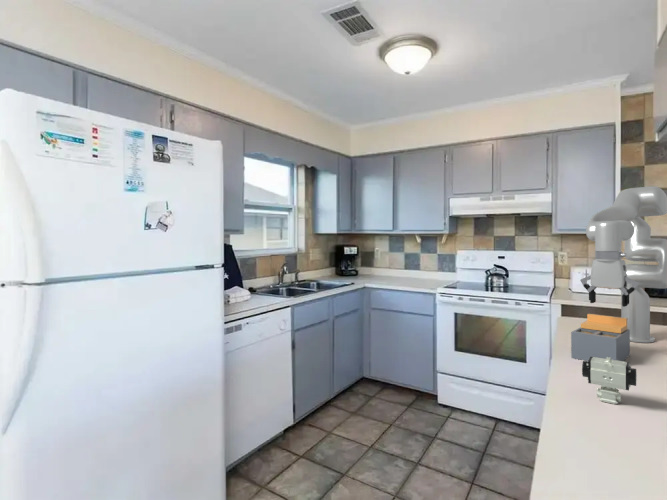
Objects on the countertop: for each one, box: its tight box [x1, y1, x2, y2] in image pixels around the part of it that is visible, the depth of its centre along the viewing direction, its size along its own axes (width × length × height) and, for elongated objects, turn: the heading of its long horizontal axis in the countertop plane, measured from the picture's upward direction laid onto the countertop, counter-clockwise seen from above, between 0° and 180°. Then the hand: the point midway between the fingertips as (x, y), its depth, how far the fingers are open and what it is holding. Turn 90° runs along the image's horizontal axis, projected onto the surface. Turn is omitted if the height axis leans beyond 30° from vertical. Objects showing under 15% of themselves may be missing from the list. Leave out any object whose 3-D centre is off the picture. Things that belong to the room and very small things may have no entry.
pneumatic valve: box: [581, 357, 638, 405], centre depth 104 cm, size 6×12×12 cm, turn 50°
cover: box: [580, 313, 628, 333], centre depth 144 cm, size 9×12×4 cm
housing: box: [570, 326, 631, 362], centre depth 141 cm, size 18×14×10 cm
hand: (608, 304), depth 136 cm, fingers open, 9 cm apart
